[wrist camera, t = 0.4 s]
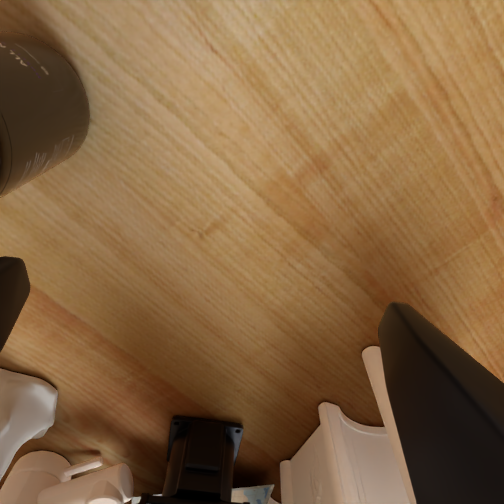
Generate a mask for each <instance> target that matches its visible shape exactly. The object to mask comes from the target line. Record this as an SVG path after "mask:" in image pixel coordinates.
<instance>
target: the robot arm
mask: <svg viewBox="0 0 504 504" xmlns="http://www.w3.org/2000/svg"><path fill="white" fill-rule="evenodd" d="M29 293H30V282H29V278H28V274H27V270H26V266H25V263H24V261H23V260H22V259H21V258H16V257H7V256H3V257H0V352H1V350H2V349H3V347H4V345H5V343H6V341H7V339H8V337H9V335H10V333H11V331H12V329H13V327H14V325H15V322H16V320H17V318H18V316H19V314H20V312H21V310H22V308H23V306H24V304H25V302H26V300H27V298H28V296H29ZM378 336H379V343H380V350H381V357H382V364H383V371H384V377H385V384H386V389H387V393H388V397H389V401H390V405H391V409H392V413H393V416H394V420H395V424H396V428H397V432H398V435H399V439H400V443H401V447H402V450H403V454H404V458H405V462H406V466H407V469H408V473H409V477H410V481H411V484H412V488H413V492H414V496H415V500H416V503H417V504H504V383H503V382H501V381H500V380H499V379H498V378H497V377H495V376H494V375H493V374H492V373H491V372H489V371H488V370H487V369H486V368H485V367H483V366H482V365H481V364H480V363H478V362H477V361H476V360H475V359H474V358H472V357H471V356H470V355H469V354H468V353H466V352H465V351H464V350H463V349H462V348H460V347H459V346H458V345H457V344H456V343H454V342H453V341H452V340H451V339H450V338H448V337H447V336H446V335H445V334H444V333H442V332H441V331H440V330H439V329H437V328H436V327H435V326H434V325H433V324H431V323H430V322H429V321H428V320H427V319H425V318H424V317H423V316H422V315H421V314H419V313H418V312H417V311H416V310H415V309H413V308H412V307H411V306H410V305H408V304H407V303H401V302H390V303H389V304H388V306H387V308H386V310H385V312H384V315H383V317H382V319H381V321H380V324H379V327H378ZM242 435H243V425H241V424H237V423H229V422H221V421H213V420H206V419H198V418H190V417H182V416H174V417H173V418H172V421H171V427H170V436H169V445H168V453H167V461H168V462H169V464H168V469H167V474H166V479H165V483H164V488H163V493H162V496H156V495H149V494H148V493H142V496H141V499H140V502H139V503H137V504H250V502H243V503H237V502H231V500H232V482H233V468H234V465H235V461H236V458H237V454H238V450H239V446H240V442H241V439H242Z"/></svg>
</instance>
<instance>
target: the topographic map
mask: <svg viewBox="0 0 504 504" xmlns="http://www.w3.org/2000/svg"><path fill="white" fill-rule="evenodd" d="M274 485H275V484H271V485H262V486H254V487H243V488H234V489H232V500H231V502H237V503H243V502H250V504H267V503H268V500H269V498H270V495H271V493H272V491H273V487H274ZM156 496H162V494H158V495H156ZM140 499H141V496H139V497H132V503H131V504H137V503H139V502H140Z"/></svg>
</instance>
